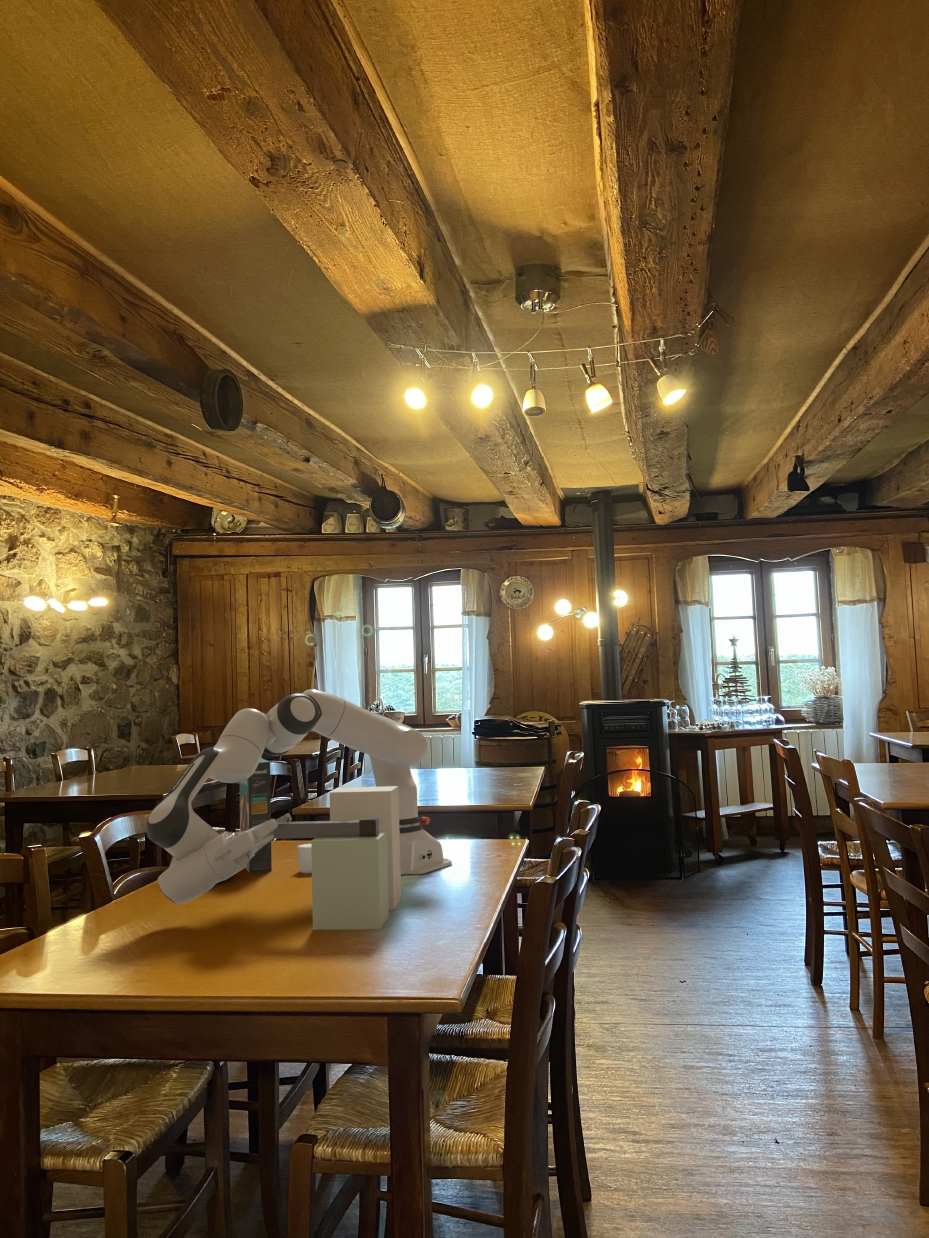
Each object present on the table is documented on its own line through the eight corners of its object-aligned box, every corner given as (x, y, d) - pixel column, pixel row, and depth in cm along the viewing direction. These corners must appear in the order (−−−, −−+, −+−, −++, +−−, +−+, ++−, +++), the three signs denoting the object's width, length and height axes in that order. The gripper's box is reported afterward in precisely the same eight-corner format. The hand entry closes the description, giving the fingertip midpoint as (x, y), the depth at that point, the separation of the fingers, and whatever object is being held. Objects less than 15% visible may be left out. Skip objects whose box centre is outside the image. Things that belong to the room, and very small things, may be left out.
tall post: (331, 910, 195) (329, 792, 197) (342, 899, 205) (339, 787, 207) (393, 909, 194) (390, 790, 196) (401, 899, 204) (398, 786, 206)
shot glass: (317, 873, 237) (316, 847, 238) (293, 873, 238) (293, 847, 239) (326, 868, 244) (326, 842, 244) (303, 868, 245) (302, 842, 246)
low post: (312, 929, 179) (311, 840, 181) (325, 917, 189) (323, 832, 191) (380, 929, 178) (378, 839, 180) (389, 916, 188) (386, 831, 190)
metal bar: (273, 838, 185) (272, 821, 185) (278, 836, 188) (277, 819, 189) (376, 836, 183) (375, 819, 183) (379, 833, 187) (378, 817, 187)
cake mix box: (240, 860, 261) (239, 758, 263) (261, 858, 263) (259, 757, 266) (249, 873, 240) (248, 763, 243) (271, 871, 243) (270, 761, 245)
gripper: (202, 849, 177) (260, 813, 177) (237, 833, 197) (289, 801, 197) (218, 876, 176) (275, 840, 176) (251, 857, 197) (303, 825, 196)
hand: (283, 819), depth 187 cm, fingers open, 8 cm apart
